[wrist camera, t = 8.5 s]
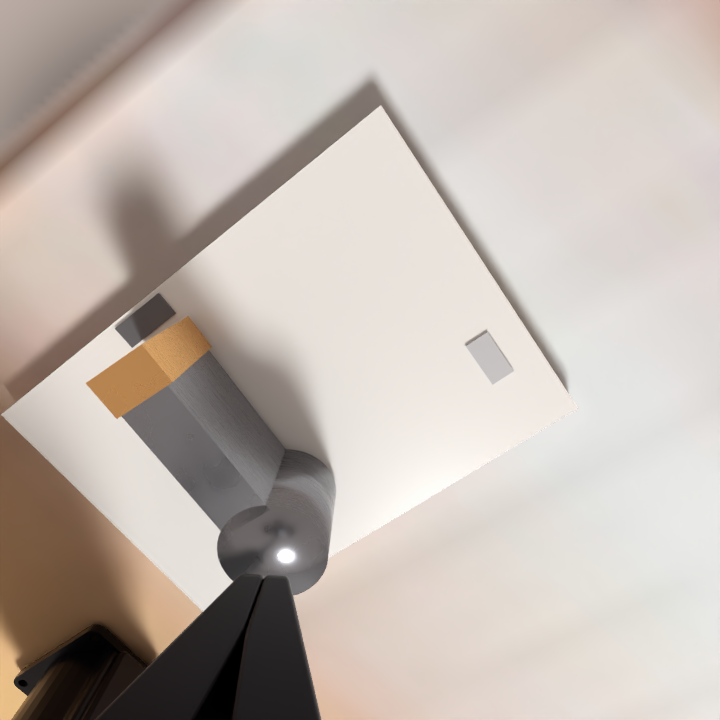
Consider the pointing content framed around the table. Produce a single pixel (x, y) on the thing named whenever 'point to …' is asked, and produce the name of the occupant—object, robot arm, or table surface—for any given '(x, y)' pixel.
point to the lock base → (318, 357)
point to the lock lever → (225, 456)
